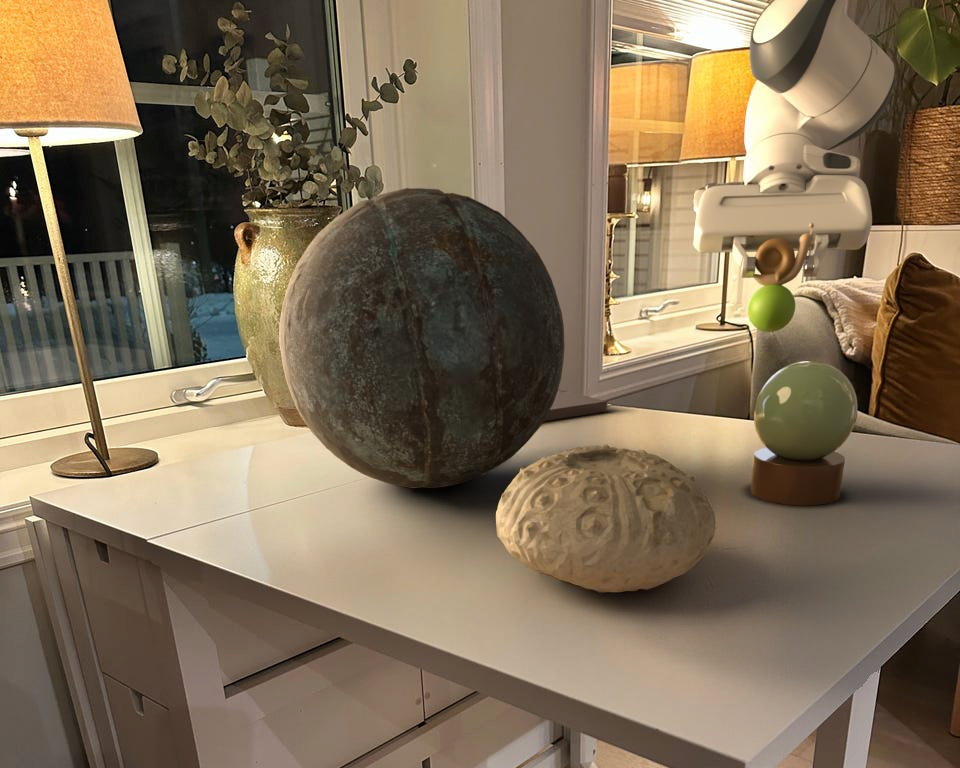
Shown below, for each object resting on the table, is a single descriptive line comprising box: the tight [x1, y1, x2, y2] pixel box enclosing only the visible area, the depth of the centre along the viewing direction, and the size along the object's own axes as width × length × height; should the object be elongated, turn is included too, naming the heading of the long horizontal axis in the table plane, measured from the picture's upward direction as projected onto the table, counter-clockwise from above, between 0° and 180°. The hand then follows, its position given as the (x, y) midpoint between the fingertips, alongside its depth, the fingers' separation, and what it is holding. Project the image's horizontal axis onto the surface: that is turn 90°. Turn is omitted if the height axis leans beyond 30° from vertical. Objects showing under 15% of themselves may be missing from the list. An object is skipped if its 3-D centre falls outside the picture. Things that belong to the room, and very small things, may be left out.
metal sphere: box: [278, 187, 565, 489], centre depth 97 cm, size 30×30×30 cm
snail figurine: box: [747, 223, 814, 333], centre depth 108 cm, size 5×6×12 cm
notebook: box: [543, 388, 608, 422], centre depth 136 cm, size 13×2×21 cm
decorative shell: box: [495, 443, 716, 593], centre depth 75 cm, size 18×18×10 cm
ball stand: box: [750, 360, 859, 506], centre depth 94 cm, size 10×10×14 cm
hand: (779, 273), depth 107 cm, fingers closed on snail figurine, 6 cm apart
